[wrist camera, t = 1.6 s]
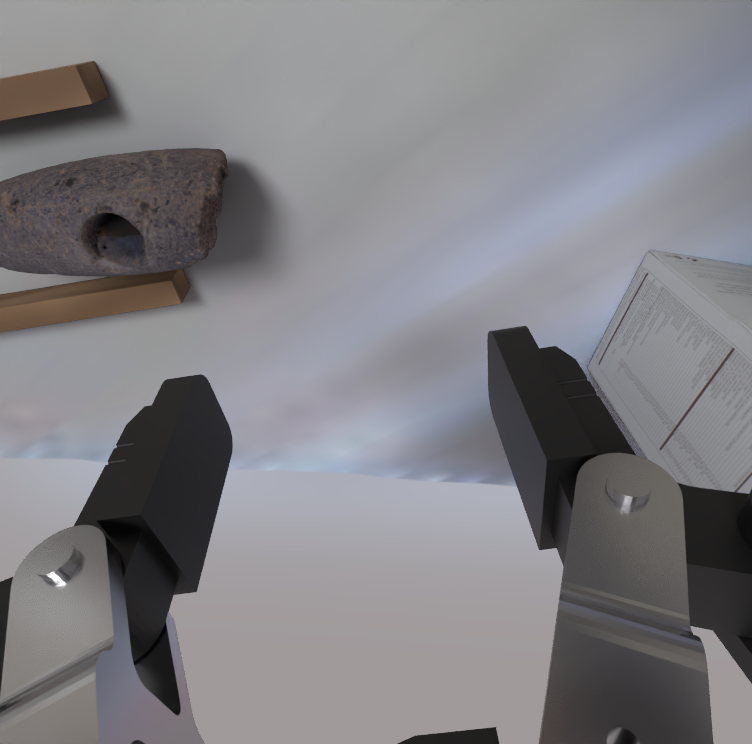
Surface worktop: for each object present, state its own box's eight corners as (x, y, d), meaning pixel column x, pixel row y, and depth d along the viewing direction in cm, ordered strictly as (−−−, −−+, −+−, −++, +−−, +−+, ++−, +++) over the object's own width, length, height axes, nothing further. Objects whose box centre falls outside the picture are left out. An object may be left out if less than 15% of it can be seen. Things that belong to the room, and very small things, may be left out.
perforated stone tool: (4, 251, 29) (-79, 312, 23) (-50, 156, 25) (-161, 200, 20) (260, 229, 28) (239, 285, 23) (238, 130, 25) (207, 167, 20)
